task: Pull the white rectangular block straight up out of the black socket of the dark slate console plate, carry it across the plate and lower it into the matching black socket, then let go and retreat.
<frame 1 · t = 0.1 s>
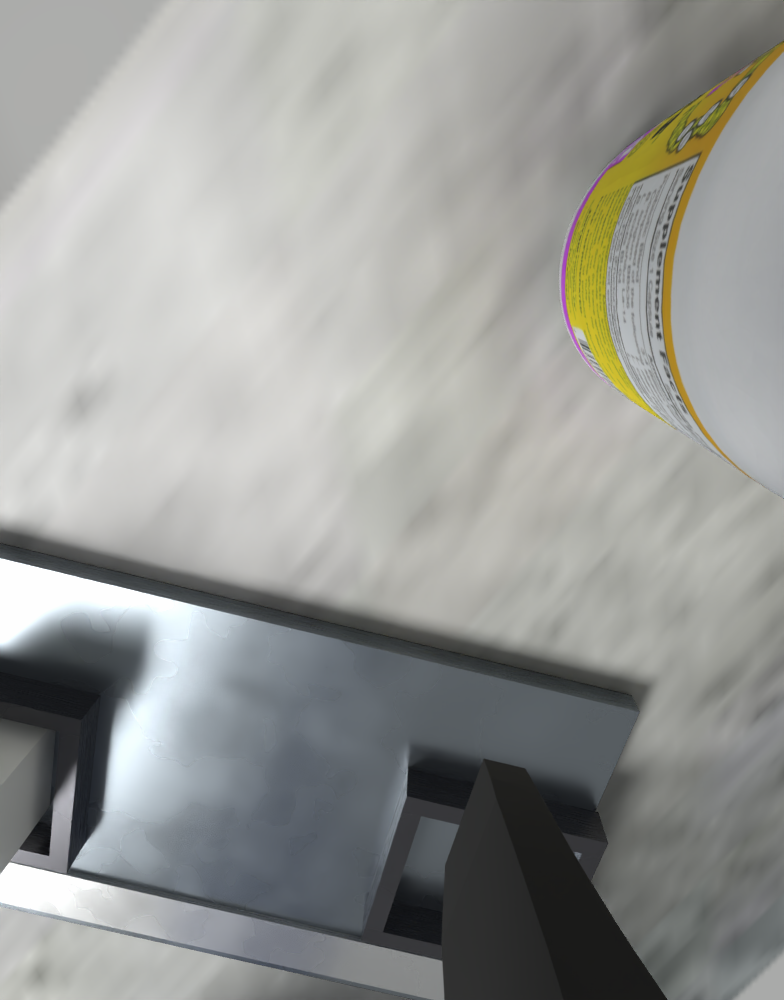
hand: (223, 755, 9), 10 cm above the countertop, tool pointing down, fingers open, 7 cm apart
supplement bottle: (684, 269, 16), on the countertop
panel: (246, 788, 22), on the countertop
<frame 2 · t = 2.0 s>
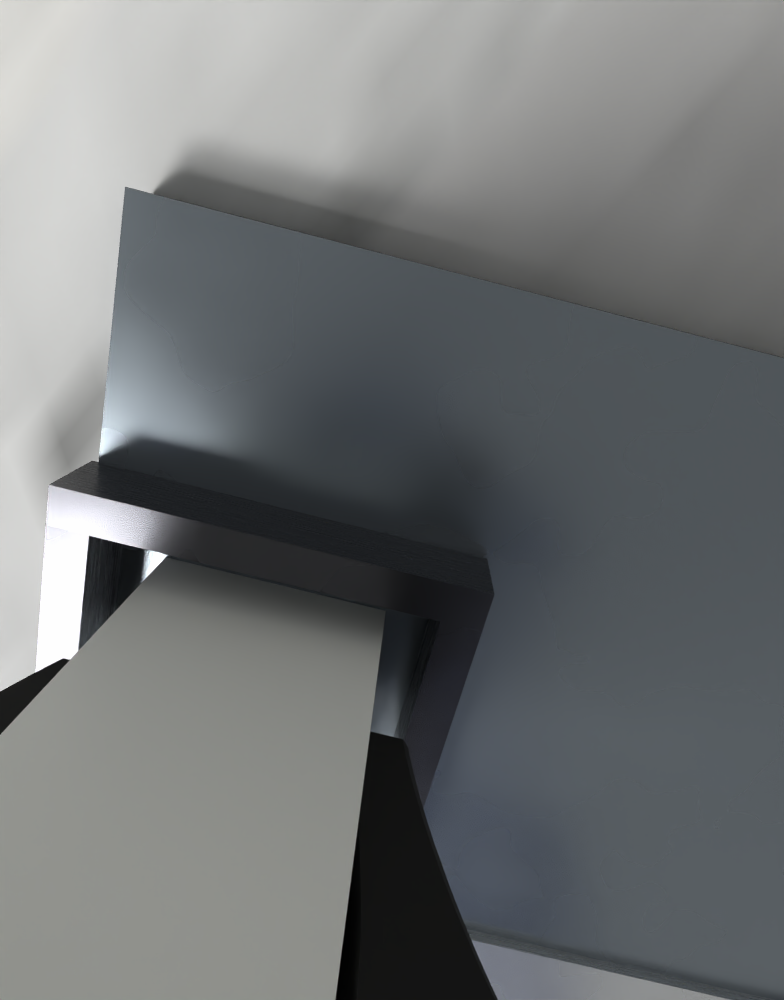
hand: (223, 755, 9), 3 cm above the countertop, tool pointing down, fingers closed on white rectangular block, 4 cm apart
white rectangular block: (257, 677, 11), point 1 cm above the countertop, touching gripper, panel
panel: (693, 754, 12), on the countertop
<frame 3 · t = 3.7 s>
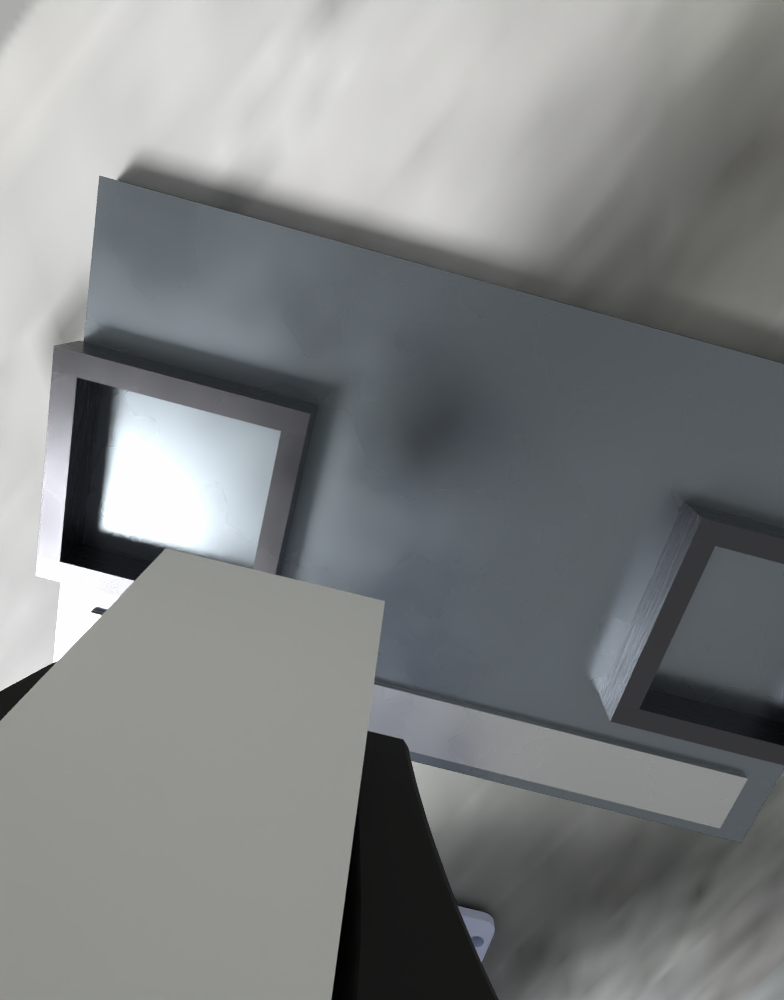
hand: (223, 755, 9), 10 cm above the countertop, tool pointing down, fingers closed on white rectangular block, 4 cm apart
white rectangular block: (257, 667, 11), point 8 cm above the countertop, touching gripper
panel: (466, 547, 19), on the countertop
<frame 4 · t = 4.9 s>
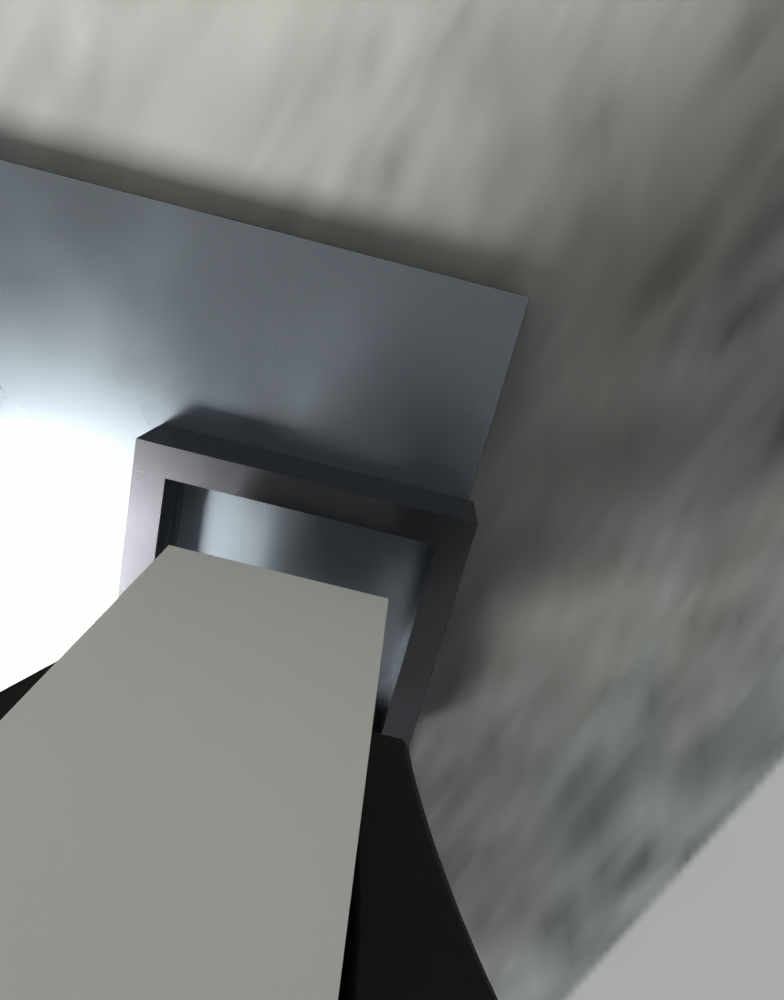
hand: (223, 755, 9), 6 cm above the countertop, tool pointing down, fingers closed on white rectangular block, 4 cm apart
white rectangular block: (260, 665, 11), point 4 cm above the countertop, touching gripper
when the fingers open (4 cm above the countertop, at t = 5.7 s): white rectangular block stays where it is, resting on panel.
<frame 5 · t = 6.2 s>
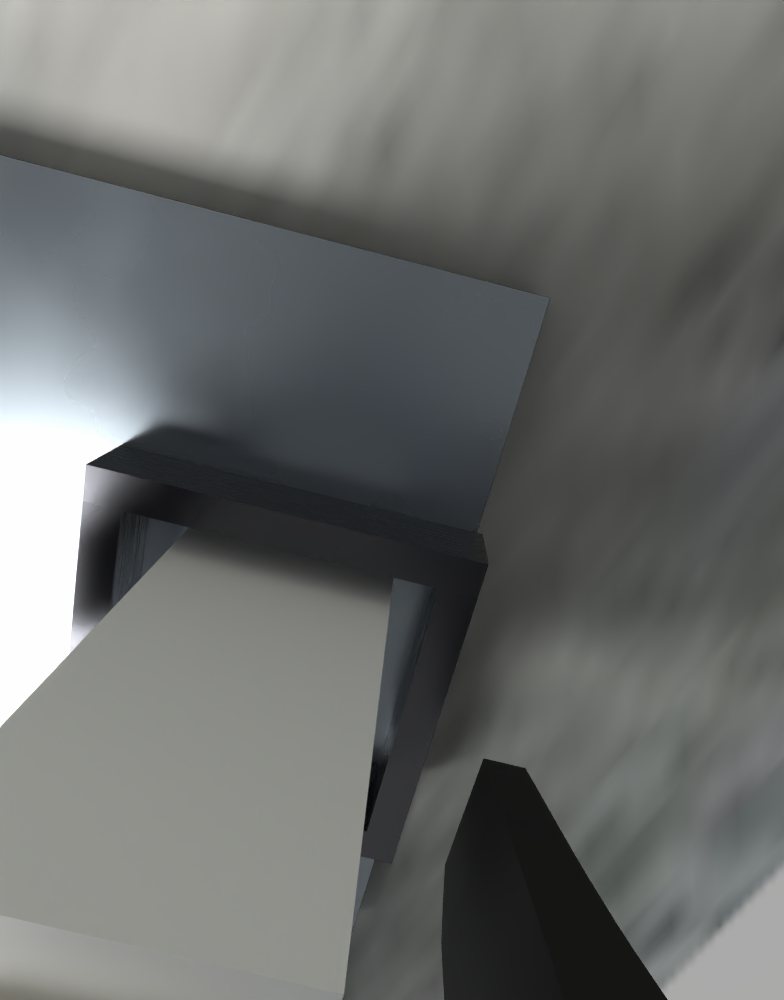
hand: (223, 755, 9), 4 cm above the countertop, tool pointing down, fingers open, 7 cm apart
white rectangular block: (273, 638, 12), point 1 cm above the countertop, touching panel
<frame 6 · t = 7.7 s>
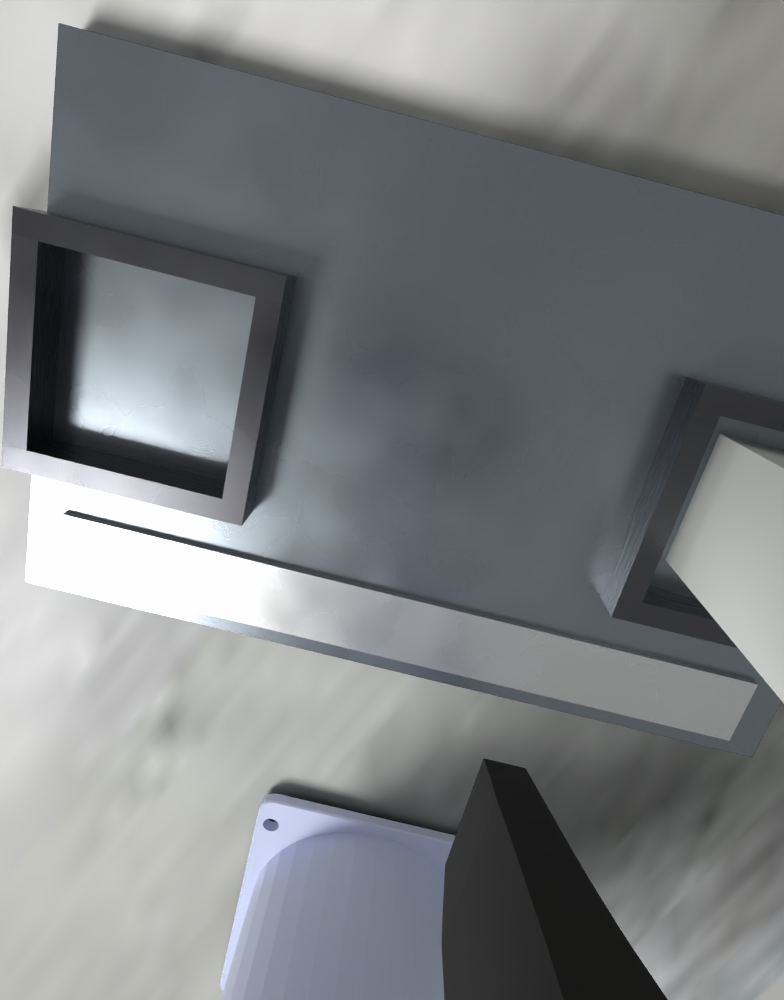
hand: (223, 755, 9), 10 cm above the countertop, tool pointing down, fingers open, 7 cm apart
white rectangular block: (757, 516, 17), point 1 cm above the countertop, touching panel
panel: (457, 439, 18), on the countertop
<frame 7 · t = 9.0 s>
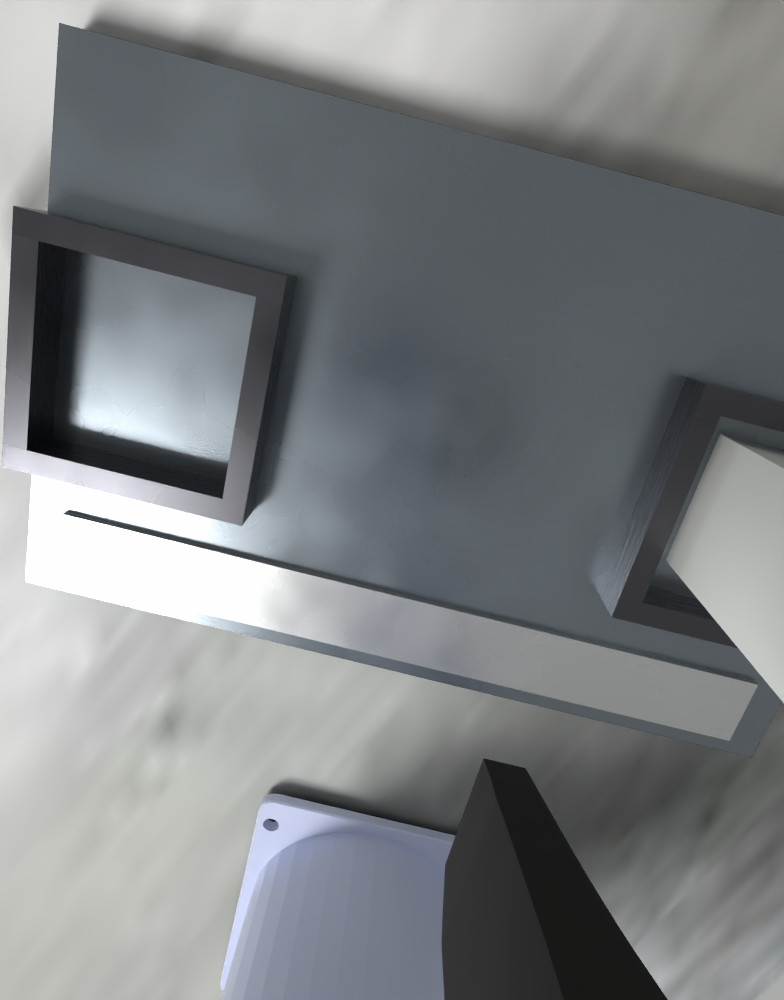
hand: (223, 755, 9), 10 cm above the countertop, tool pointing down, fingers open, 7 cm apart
white rectangular block: (757, 516, 17), point 1 cm above the countertop, touching panel
panel: (457, 439, 18), on the countertop
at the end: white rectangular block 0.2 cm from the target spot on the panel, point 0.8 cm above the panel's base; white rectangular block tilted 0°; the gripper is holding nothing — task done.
